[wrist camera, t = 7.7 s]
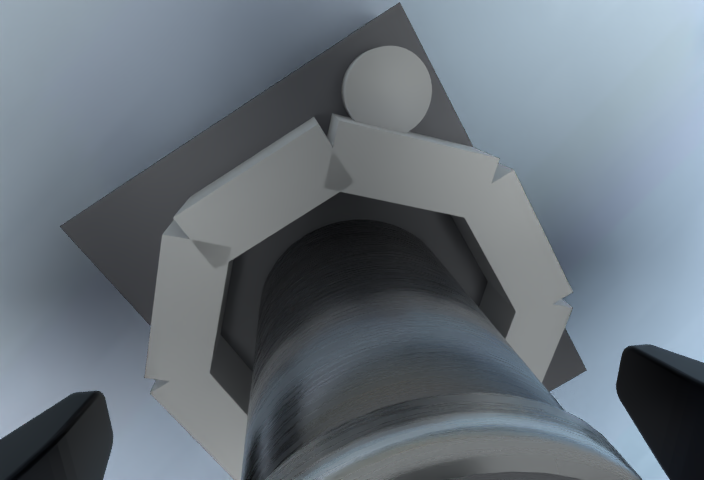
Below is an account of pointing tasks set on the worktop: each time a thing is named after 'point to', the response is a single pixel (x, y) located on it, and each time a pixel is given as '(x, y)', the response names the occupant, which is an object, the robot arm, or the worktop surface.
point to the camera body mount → (317, 222)
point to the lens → (398, 375)
